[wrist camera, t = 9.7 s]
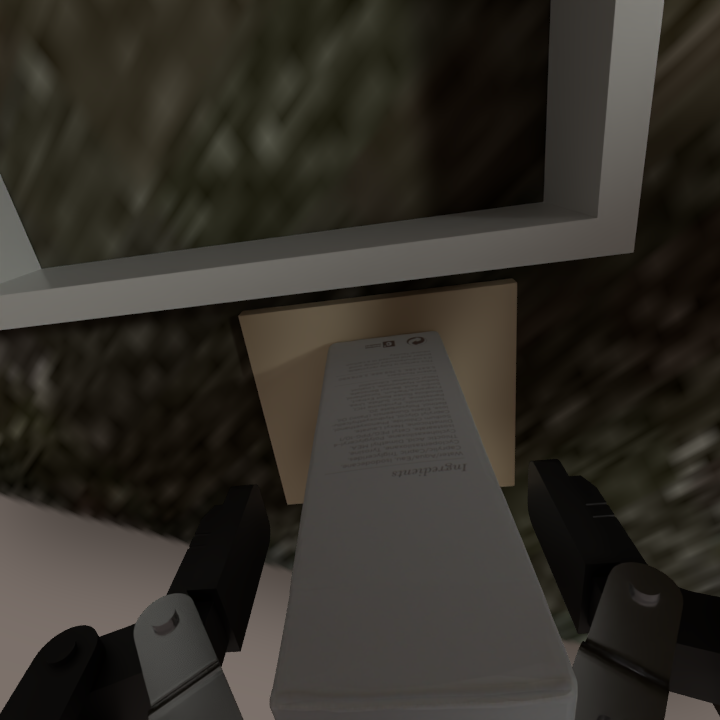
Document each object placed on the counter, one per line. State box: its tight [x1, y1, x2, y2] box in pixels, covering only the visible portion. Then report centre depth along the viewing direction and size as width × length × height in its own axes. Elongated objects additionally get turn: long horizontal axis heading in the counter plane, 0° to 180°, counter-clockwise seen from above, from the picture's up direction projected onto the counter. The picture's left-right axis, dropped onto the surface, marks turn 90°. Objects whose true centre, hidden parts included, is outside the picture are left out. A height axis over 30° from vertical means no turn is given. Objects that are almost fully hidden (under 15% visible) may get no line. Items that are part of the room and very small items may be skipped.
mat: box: [238, 278, 517, 505], centre depth 18 cm, size 10×9×1 cm
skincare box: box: [270, 331, 578, 720], centre depth 12 cm, size 6×4×12 cm
